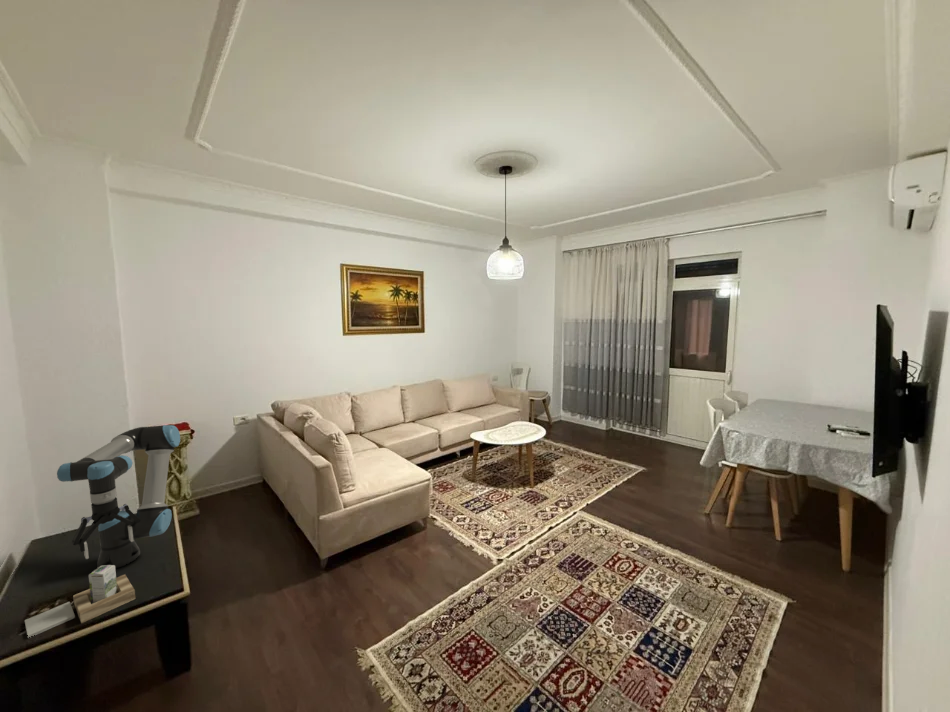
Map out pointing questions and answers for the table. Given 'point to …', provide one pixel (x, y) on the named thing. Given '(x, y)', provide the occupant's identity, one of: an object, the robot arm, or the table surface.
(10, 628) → the table surface
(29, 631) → the mat
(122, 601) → the socket block
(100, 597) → the syrup box
